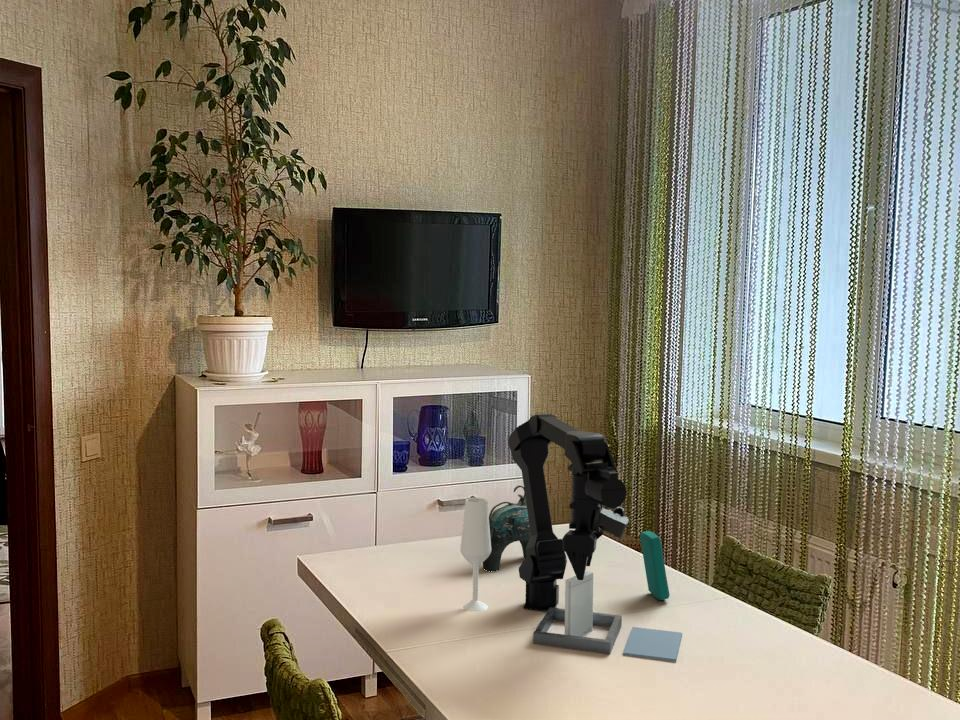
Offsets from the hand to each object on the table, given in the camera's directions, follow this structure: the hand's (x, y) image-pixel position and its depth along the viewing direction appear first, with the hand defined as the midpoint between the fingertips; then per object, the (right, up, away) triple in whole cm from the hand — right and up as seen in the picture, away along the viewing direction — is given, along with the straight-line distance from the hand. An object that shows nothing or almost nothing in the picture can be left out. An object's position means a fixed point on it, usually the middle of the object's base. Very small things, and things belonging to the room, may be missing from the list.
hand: (583, 572), depth 190 cm
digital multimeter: (+18, -11, +24) cm, 32 cm away
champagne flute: (-22, -12, +16) cm, 29 cm away
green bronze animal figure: (-12, -9, +47) cm, 49 cm away
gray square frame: (-1, -13, +1) cm, 13 cm away
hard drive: (-1, -13, +1) cm, 13 cm away
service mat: (+13, -14, -3) cm, 19 cm away
